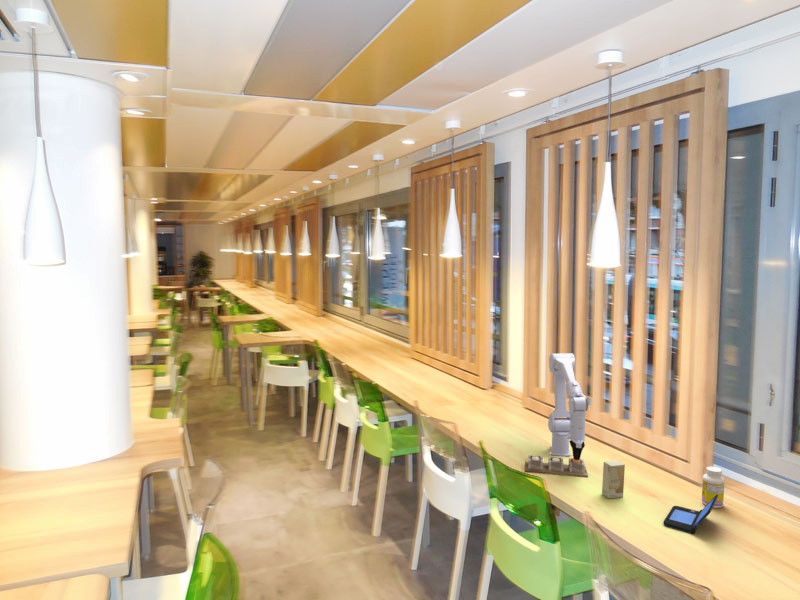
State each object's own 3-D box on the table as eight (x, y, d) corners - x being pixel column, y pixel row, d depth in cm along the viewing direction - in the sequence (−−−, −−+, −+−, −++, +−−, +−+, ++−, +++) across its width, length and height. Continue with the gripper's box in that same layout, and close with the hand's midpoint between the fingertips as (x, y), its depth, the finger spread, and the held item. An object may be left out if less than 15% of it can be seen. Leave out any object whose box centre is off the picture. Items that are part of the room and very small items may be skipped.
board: (525, 462, 234) (525, 452, 233) (585, 467, 228) (585, 457, 228) (525, 472, 224) (525, 461, 223) (588, 477, 219) (588, 466, 218)
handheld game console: (673, 508, 193) (674, 482, 192) (717, 520, 185) (718, 493, 184) (662, 526, 181) (663, 498, 180) (708, 539, 172) (710, 510, 171)
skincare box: (608, 499, 200) (610, 466, 199) (601, 494, 204) (602, 461, 203) (624, 497, 201) (625, 464, 200) (616, 491, 206) (617, 459, 204)
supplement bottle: (703, 498, 200) (705, 463, 199) (724, 503, 196) (726, 468, 195) (699, 505, 195) (701, 469, 194) (721, 510, 191) (723, 474, 190)
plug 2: (551, 465, 228) (551, 457, 228) (559, 466, 227) (559, 458, 227) (552, 468, 225) (552, 460, 225) (559, 469, 224) (559, 460, 224)
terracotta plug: (572, 465, 226) (572, 457, 226) (579, 466, 225) (580, 458, 225) (572, 468, 223) (572, 460, 223) (580, 469, 222) (580, 460, 222)
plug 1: (531, 464, 230) (531, 456, 229) (539, 464, 229) (539, 456, 229) (531, 466, 227) (531, 458, 226) (539, 467, 226) (539, 459, 226)
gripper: (565, 420, 231) (564, 452, 232) (568, 431, 217) (567, 465, 218) (583, 421, 229) (582, 453, 230) (587, 432, 215) (586, 466, 216)
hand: (576, 459), depth 224 cm, fingers closed, pressing on terracotta plug
